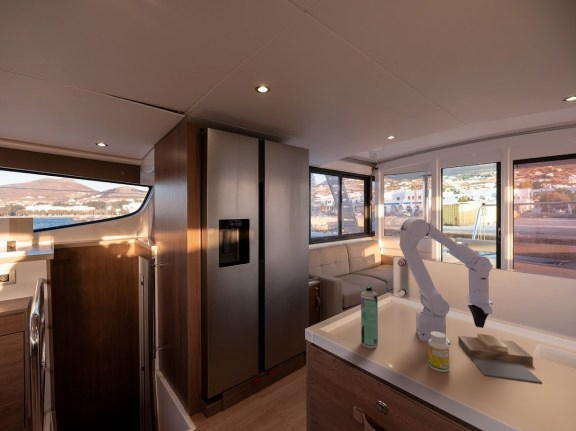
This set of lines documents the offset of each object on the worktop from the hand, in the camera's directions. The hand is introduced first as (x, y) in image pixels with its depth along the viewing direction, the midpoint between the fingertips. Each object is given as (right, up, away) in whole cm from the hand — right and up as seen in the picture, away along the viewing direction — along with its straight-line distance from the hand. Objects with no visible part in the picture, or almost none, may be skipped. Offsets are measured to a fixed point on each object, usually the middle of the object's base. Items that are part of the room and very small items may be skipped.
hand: (479, 326), depth 92 cm
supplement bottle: (-24, -5, -17) cm, 30 cm away
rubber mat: (-7, -5, -18) cm, 20 cm away
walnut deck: (-3, -5, -9) cm, 11 cm away
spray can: (-40, -5, -3) cm, 41 cm away
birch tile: (-3, -2, -9) cm, 9 cm away
